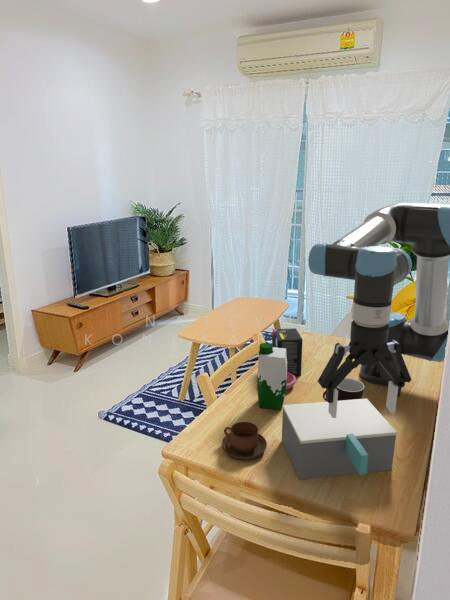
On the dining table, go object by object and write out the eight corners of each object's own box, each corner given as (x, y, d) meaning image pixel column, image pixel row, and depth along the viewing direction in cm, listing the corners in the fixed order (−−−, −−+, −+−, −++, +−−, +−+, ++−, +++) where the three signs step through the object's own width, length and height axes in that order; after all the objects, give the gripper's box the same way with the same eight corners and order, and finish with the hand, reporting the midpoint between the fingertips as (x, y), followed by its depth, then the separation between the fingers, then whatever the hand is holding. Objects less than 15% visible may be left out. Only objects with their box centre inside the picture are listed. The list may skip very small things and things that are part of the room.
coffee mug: (362, 409, 137) (365, 380, 134) (361, 424, 129) (363, 393, 127) (324, 403, 141) (326, 375, 138) (321, 417, 133) (322, 387, 130)
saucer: (258, 377, 159) (258, 369, 158) (293, 377, 159) (293, 369, 158) (260, 394, 147) (260, 385, 146) (297, 394, 147) (297, 385, 146)
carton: (363, 433, 125) (366, 402, 122) (391, 470, 110) (396, 435, 107) (281, 440, 122) (282, 408, 119) (298, 479, 107) (300, 444, 104)
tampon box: (270, 364, 169) (271, 328, 165) (294, 363, 170) (295, 327, 166) (276, 377, 159) (277, 339, 155) (301, 376, 160) (303, 338, 155)
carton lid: (365, 412, 123) (367, 396, 122) (413, 469, 100) (415, 450, 98) (282, 419, 120) (282, 402, 119) (311, 479, 97) (312, 460, 95)
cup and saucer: (218, 461, 114) (218, 440, 112) (226, 434, 125) (225, 415, 124) (264, 465, 112) (265, 444, 110) (268, 438, 123) (268, 418, 122)
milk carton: (259, 395, 146) (260, 339, 140) (286, 398, 144) (288, 341, 139) (255, 409, 138) (256, 350, 132) (284, 412, 136) (286, 352, 130)
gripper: (318, 331, 86) (312, 426, 92) (436, 325, 89) (423, 417, 95) (306, 319, 93) (302, 407, 99) (416, 313, 97) (405, 399, 103)
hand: (361, 412), depth 97 cm, fingers open, 13 cm apart
